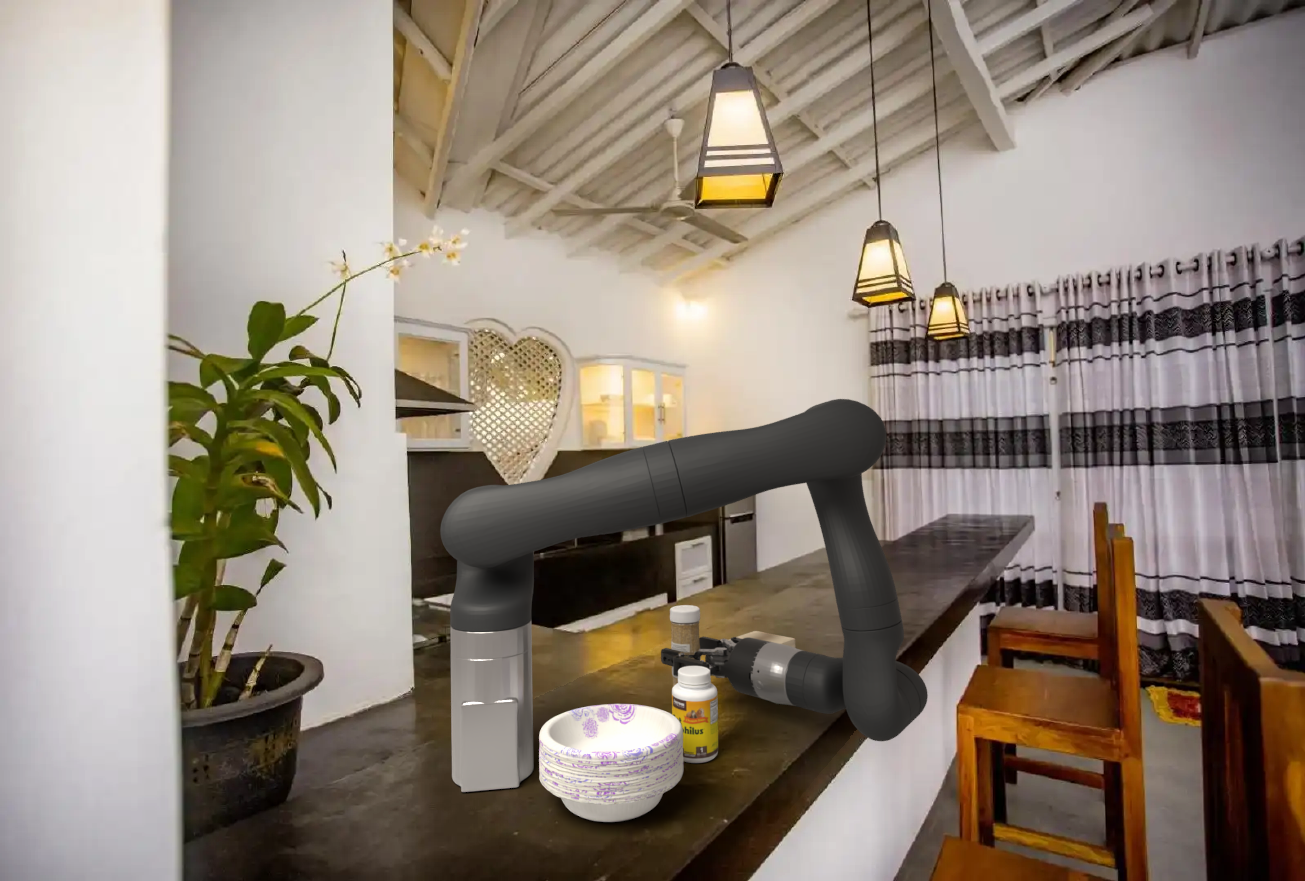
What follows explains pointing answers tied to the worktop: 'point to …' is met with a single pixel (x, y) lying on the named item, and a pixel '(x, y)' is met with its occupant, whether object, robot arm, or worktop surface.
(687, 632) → the brown spice jar
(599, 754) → the paper bowls
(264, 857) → the worktop surface
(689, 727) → the supplement bottle
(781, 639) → the beech pedestal
